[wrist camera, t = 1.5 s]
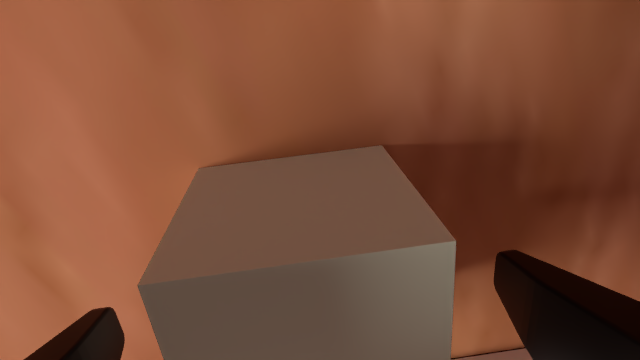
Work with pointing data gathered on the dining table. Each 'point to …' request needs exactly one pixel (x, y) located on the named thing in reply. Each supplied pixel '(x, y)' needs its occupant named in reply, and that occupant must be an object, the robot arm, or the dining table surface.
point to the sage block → (303, 264)
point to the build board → (502, 356)
